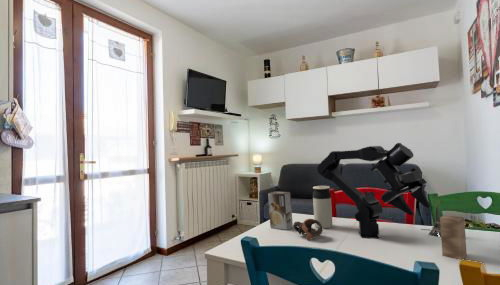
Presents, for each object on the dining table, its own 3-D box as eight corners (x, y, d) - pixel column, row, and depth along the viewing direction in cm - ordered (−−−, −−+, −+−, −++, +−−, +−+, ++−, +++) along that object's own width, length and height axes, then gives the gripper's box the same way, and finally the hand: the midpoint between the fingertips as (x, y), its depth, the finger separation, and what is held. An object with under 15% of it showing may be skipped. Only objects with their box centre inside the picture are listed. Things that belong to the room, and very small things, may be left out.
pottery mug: (321, 234, 117) (325, 219, 113) (318, 251, 109) (322, 236, 105) (293, 226, 120) (296, 211, 116) (288, 242, 113) (291, 227, 109)
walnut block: (442, 255, 88) (439, 217, 88) (448, 251, 91) (445, 214, 91) (461, 260, 84) (458, 220, 84) (466, 255, 87) (464, 217, 87)
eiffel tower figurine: (464, 243, 99) (462, 206, 99) (432, 242, 101) (429, 205, 102) (447, 231, 113) (445, 198, 113) (419, 230, 116) (417, 198, 116)
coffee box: (293, 226, 129) (291, 191, 129) (287, 230, 123) (285, 194, 124) (276, 224, 134) (274, 191, 134) (269, 227, 129) (267, 193, 129)
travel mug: (334, 228, 122) (332, 187, 123) (316, 229, 123) (314, 188, 123) (329, 223, 130) (327, 185, 131) (312, 224, 130) (310, 186, 131)
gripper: (387, 167, 93) (421, 208, 85) (421, 156, 101) (454, 192, 93) (368, 184, 101) (397, 223, 93) (401, 172, 109) (430, 207, 101)
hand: (420, 211), depth 95 cm, fingers open, 9 cm apart
